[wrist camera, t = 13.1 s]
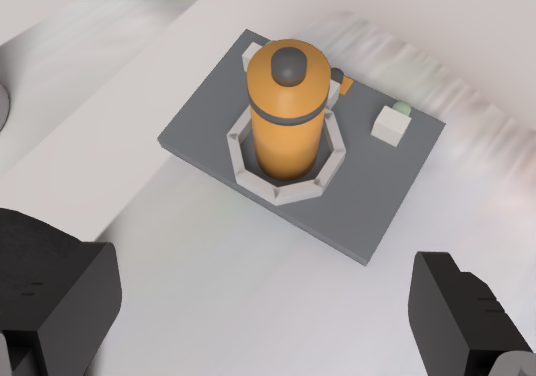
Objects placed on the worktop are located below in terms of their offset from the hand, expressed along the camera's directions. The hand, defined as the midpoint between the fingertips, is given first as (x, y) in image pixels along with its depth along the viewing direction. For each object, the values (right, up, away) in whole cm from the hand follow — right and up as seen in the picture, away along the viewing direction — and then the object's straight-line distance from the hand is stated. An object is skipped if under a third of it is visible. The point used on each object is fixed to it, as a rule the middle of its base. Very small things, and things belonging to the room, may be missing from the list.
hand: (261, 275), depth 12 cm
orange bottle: (+2, +5, +23) cm, 23 cm away
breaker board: (+3, +6, +25) cm, 26 cm away
